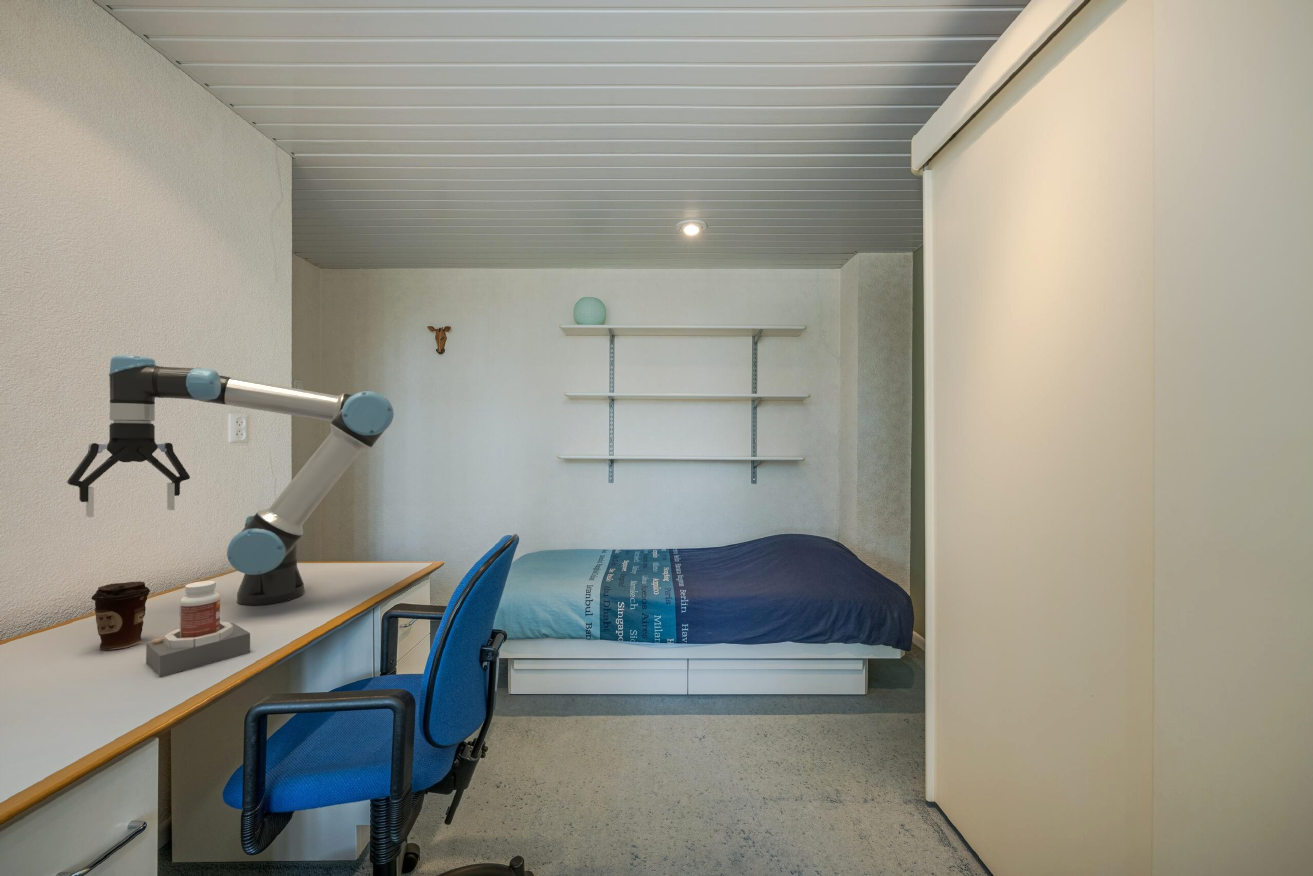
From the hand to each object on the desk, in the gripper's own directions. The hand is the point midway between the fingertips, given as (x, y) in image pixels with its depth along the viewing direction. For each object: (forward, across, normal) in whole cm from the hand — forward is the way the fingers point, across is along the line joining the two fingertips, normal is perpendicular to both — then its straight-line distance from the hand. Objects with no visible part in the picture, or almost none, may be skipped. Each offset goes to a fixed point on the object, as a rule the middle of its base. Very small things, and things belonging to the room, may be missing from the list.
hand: (132, 513), depth 123 cm
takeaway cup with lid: (+27, +4, +13) cm, 30 cm away
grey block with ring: (+27, -4, +34) cm, 43 cm away
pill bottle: (+23, -4, +34) cm, 41 cm away
